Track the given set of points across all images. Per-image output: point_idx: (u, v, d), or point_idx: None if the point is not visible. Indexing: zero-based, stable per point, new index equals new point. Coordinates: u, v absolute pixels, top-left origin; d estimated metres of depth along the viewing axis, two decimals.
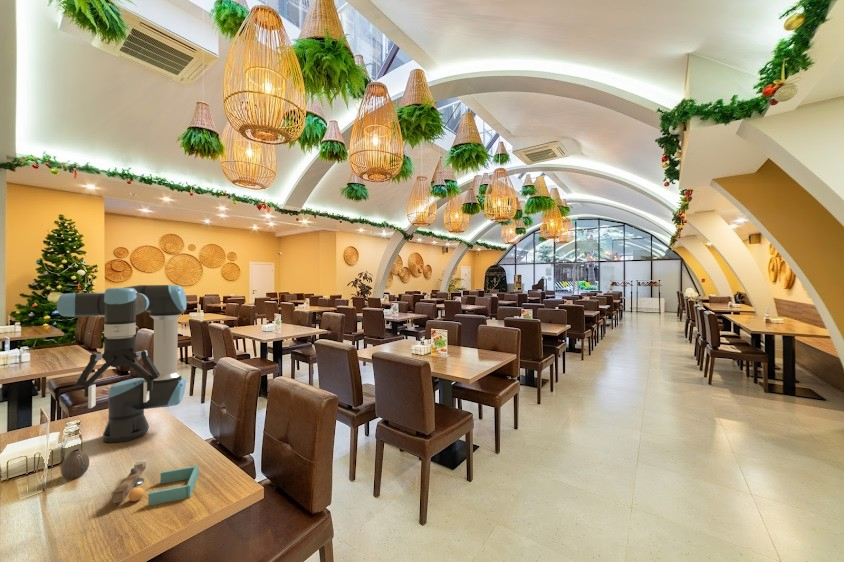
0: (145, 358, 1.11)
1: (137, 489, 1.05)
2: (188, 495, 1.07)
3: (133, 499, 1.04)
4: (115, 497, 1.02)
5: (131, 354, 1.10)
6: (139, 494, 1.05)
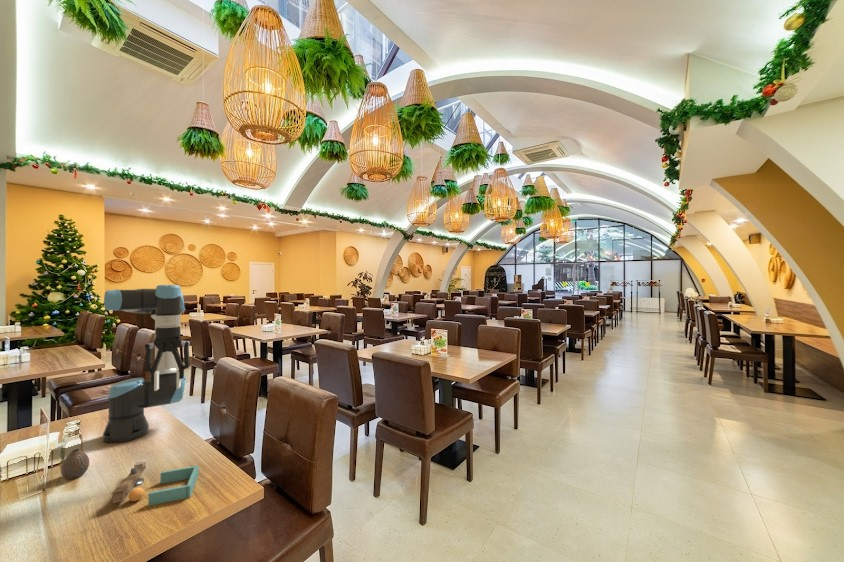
0: (186, 348, 1.30)
1: (137, 489, 1.05)
2: (188, 495, 1.07)
3: (133, 499, 1.04)
4: (115, 497, 1.02)
5: (177, 341, 1.29)
6: (139, 494, 1.05)
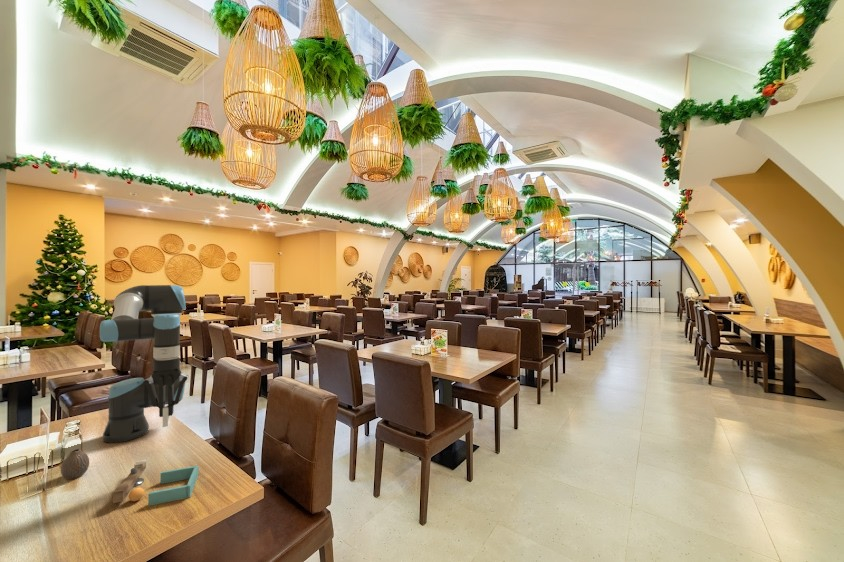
0: (182, 383, 1.23)
1: (137, 489, 1.05)
2: (188, 495, 1.07)
3: (133, 499, 1.04)
4: (115, 497, 1.02)
5: (176, 374, 1.22)
6: (139, 494, 1.05)
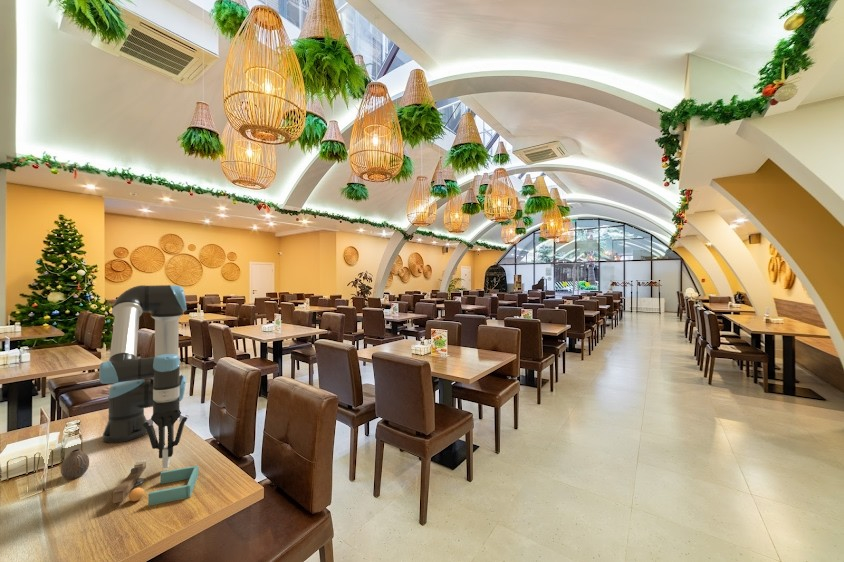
0: (182, 424, 1.23)
1: (137, 489, 1.05)
2: (188, 495, 1.07)
3: (133, 499, 1.04)
4: (115, 497, 1.02)
5: (176, 415, 1.22)
6: (139, 494, 1.05)
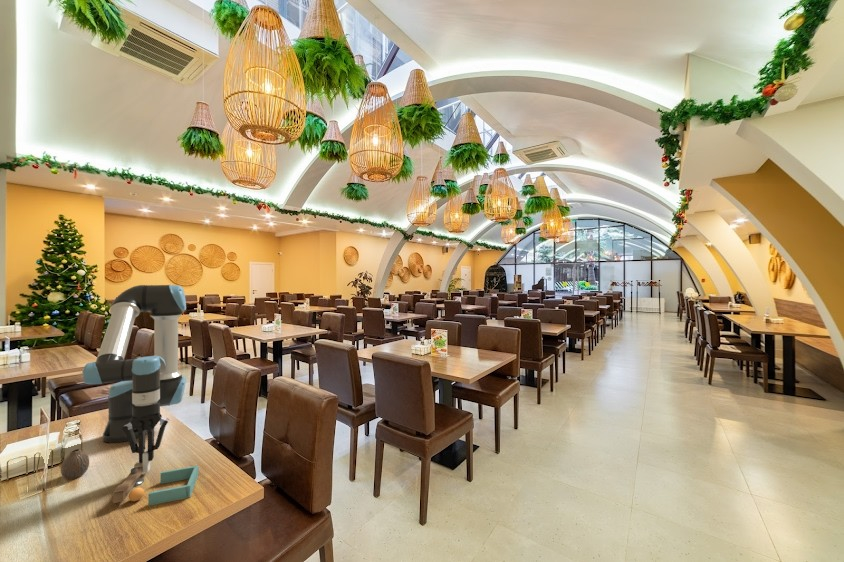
0: (163, 428, 1.21)
1: (137, 489, 1.05)
2: (188, 495, 1.07)
3: (133, 499, 1.04)
4: (115, 497, 1.02)
5: (156, 418, 1.20)
6: (139, 494, 1.05)
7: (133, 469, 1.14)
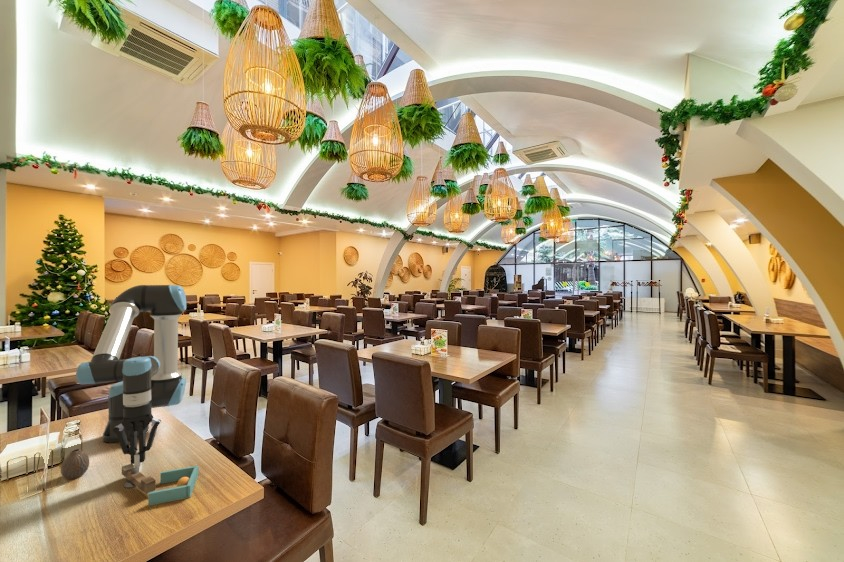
0: (154, 429, 1.20)
1: (186, 478, 1.12)
2: (188, 495, 1.07)
3: None
4: (148, 487, 1.07)
5: (148, 419, 1.19)
6: (187, 483, 1.11)
7: (134, 469, 1.14)
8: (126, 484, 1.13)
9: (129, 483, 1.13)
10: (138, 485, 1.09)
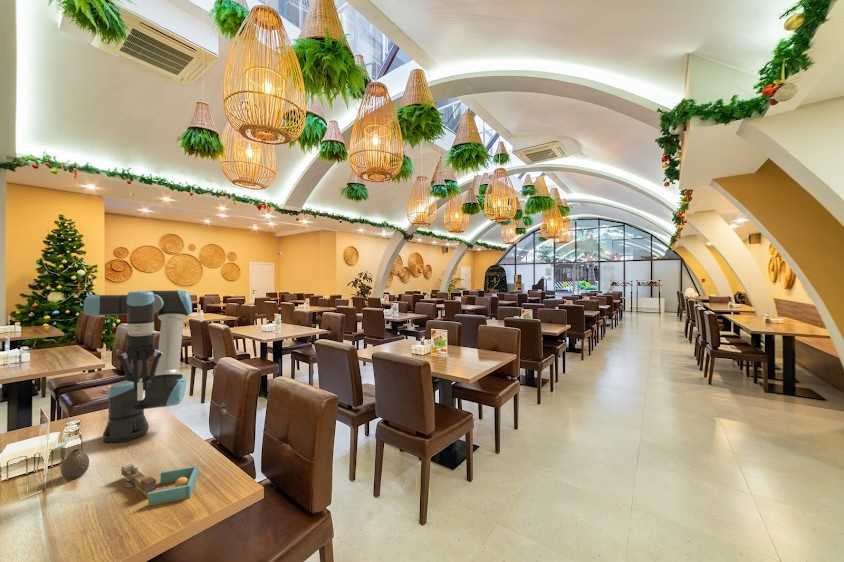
0: (157, 359, 1.26)
1: (182, 478, 1.11)
2: (188, 495, 1.07)
3: None
4: (148, 487, 1.07)
5: (151, 350, 1.25)
6: (184, 482, 1.11)
7: (134, 469, 1.14)
8: (126, 484, 1.13)
9: (129, 483, 1.13)
10: (138, 485, 1.09)
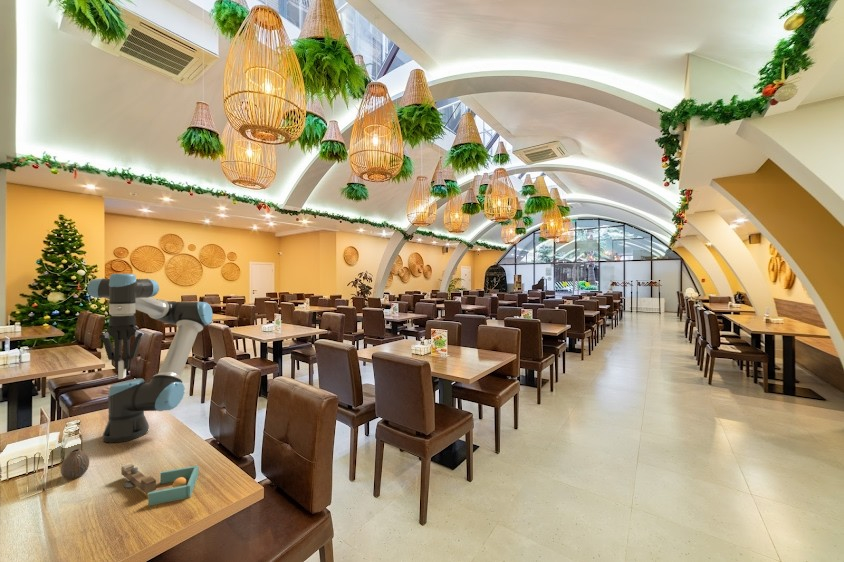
0: (138, 339, 1.30)
1: (178, 478, 1.11)
2: (188, 495, 1.07)
3: None
4: (148, 487, 1.07)
5: (132, 330, 1.30)
6: (181, 482, 1.11)
7: (134, 469, 1.14)
8: (126, 484, 1.13)
9: (129, 483, 1.13)
10: (138, 485, 1.09)
